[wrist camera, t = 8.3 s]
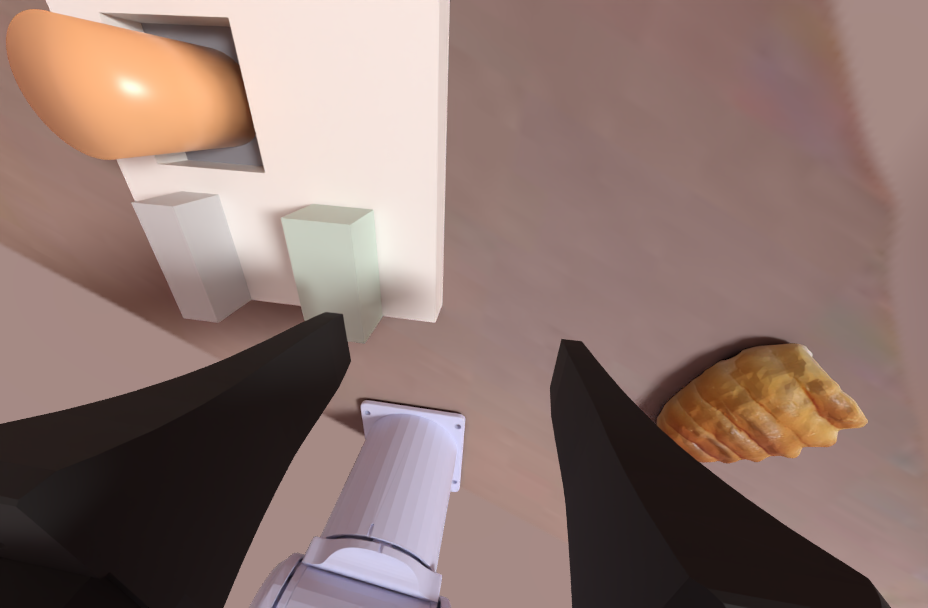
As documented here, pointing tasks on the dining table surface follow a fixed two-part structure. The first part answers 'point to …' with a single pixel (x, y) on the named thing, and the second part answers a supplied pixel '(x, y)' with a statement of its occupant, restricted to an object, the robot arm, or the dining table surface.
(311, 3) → the housing
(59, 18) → the peg
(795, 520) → the dining table surface
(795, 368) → the pastry
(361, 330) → the block
